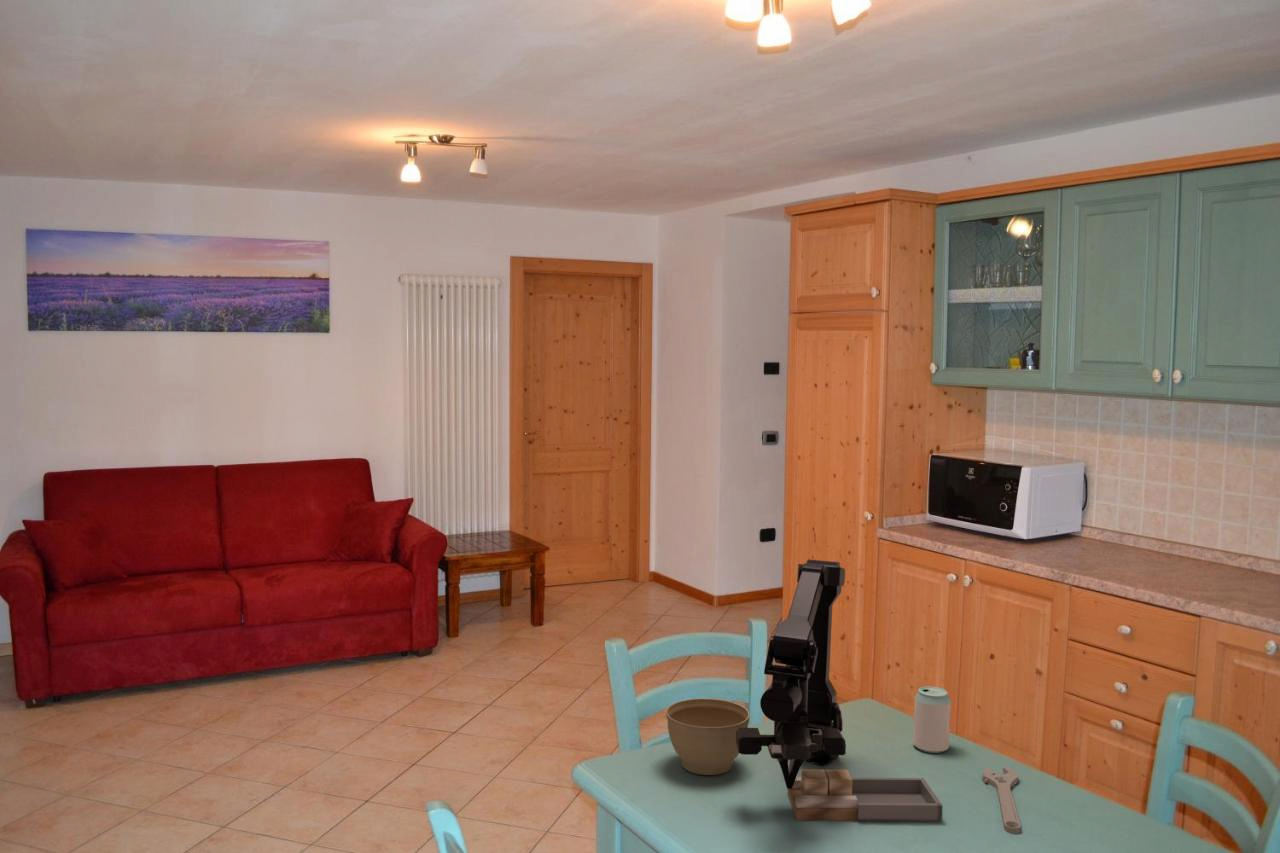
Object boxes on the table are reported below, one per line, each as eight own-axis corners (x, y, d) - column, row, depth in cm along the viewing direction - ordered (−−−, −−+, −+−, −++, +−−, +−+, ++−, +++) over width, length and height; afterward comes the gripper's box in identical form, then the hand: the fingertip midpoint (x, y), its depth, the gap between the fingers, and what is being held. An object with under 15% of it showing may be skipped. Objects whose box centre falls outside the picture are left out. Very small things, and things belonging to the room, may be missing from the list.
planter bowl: (765, 766, 194) (766, 711, 193) (712, 792, 183) (714, 734, 182) (701, 743, 205) (702, 691, 204) (648, 766, 193) (649, 711, 193)
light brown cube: (829, 801, 175) (829, 779, 175) (824, 791, 179) (825, 769, 179) (851, 801, 175) (852, 779, 175) (846, 791, 179) (847, 769, 179)
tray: (858, 821, 172) (858, 805, 171) (844, 793, 183) (844, 777, 182) (941, 822, 172) (942, 805, 172) (922, 793, 183) (923, 778, 183)
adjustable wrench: (1021, 838, 168) (1022, 828, 168) (981, 831, 170) (981, 821, 170) (1017, 777, 191) (1017, 768, 191) (982, 772, 194) (982, 763, 193)
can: (914, 753, 201) (917, 695, 200) (911, 739, 208) (913, 683, 207) (951, 756, 200) (953, 697, 199) (946, 742, 207) (948, 686, 206)
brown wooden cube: (804, 801, 175) (805, 779, 175) (800, 791, 179) (801, 769, 179) (827, 801, 175) (828, 779, 175) (822, 791, 179) (823, 769, 179)
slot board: (797, 820, 172) (797, 800, 172) (787, 794, 182) (788, 775, 182) (857, 820, 172) (858, 800, 172) (844, 794, 182) (845, 776, 182)
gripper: (743, 718, 167) (741, 808, 169) (854, 719, 168) (851, 809, 169) (736, 695, 178) (734, 780, 180) (840, 696, 179) (837, 780, 180)
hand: (788, 787), depth 177 cm, fingers closed
